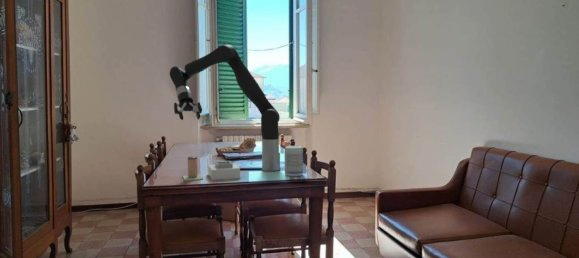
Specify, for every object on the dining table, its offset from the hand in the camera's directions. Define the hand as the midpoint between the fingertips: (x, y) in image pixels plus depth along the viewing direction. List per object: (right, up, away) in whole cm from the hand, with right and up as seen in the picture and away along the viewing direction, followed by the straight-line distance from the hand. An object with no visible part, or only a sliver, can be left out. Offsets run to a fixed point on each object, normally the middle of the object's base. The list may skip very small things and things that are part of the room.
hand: (190, 118), depth 220 cm
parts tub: (+18, -29, -5) cm, 35 cm away
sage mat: (+3, -30, -10) cm, 32 cm away
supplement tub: (+54, -29, -1) cm, 61 cm away
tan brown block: (+3, -29, -10) cm, 31 cm away
